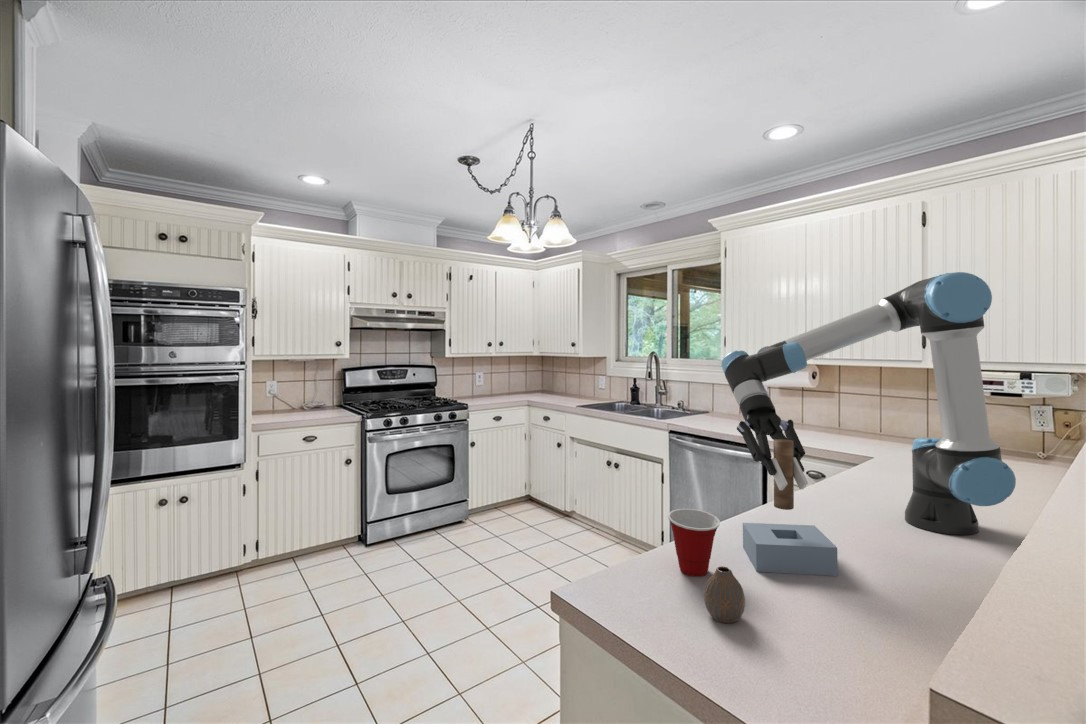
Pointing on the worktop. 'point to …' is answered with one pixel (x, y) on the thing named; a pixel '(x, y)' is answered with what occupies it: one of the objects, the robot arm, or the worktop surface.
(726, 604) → the vase
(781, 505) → the walnut peg
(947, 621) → the worktop surface
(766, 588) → the worktop surface
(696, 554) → the plastic cup
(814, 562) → the bore block
